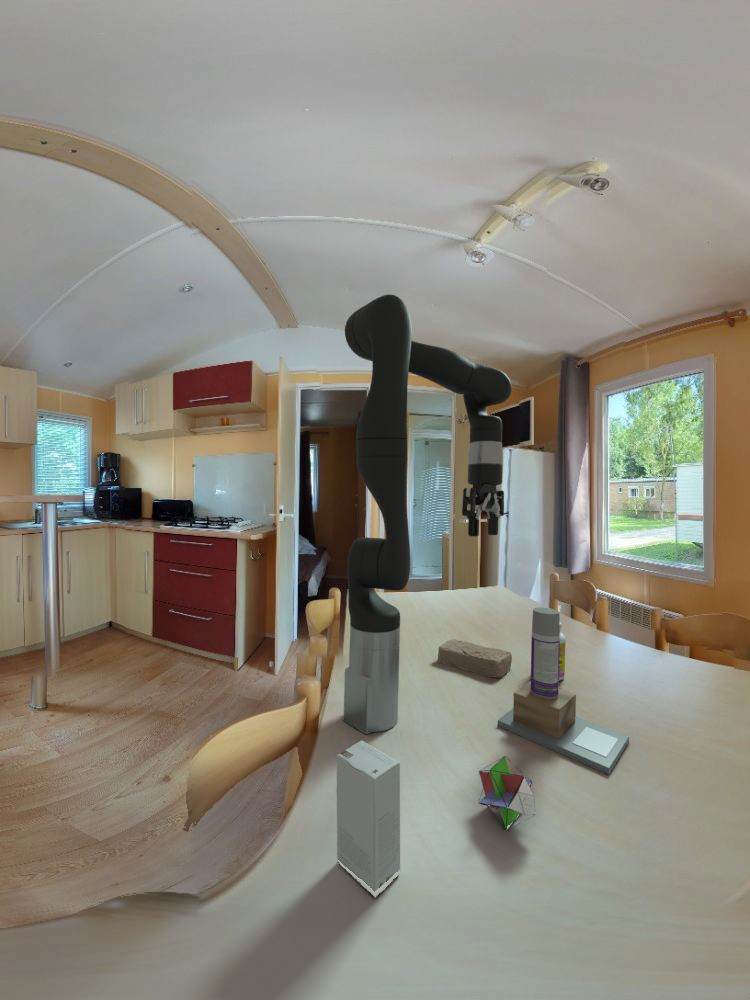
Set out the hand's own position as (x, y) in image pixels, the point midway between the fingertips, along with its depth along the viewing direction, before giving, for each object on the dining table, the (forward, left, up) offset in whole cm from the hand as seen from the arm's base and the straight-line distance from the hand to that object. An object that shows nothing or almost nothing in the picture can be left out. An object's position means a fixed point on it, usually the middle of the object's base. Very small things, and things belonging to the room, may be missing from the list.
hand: (483, 535), depth 90 cm
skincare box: (-50, -15, -33) cm, 62 cm away
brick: (+8, +6, -34) cm, 35 cm away
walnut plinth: (-7, -17, -33) cm, 38 cm away
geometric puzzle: (-32, -22, -33) cm, 51 cm away
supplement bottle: (+16, -9, -33) cm, 38 cm away
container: (-7, -17, -27) cm, 33 cm away
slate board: (-7, -20, -33) cm, 39 cm away
